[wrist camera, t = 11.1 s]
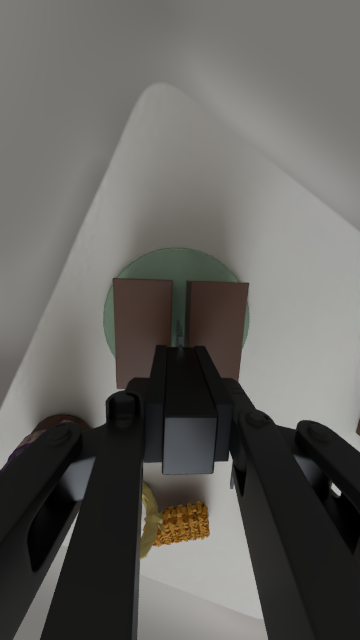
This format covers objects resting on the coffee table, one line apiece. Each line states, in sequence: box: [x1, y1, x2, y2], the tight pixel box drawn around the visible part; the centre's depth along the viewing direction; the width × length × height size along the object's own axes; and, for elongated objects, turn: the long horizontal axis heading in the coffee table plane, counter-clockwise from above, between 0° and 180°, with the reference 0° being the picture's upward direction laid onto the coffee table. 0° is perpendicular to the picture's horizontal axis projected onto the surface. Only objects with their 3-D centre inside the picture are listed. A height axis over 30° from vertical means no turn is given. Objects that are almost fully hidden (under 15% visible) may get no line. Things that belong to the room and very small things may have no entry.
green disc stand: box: [103, 248, 249, 389], centre depth 18 cm, size 15×15×5 cm
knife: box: [162, 320, 219, 475], centre depth 13 cm, size 2×4×13 cm, turn 178°
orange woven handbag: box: [140, 482, 210, 559], centre depth 23 cm, size 7×10×15 cm
